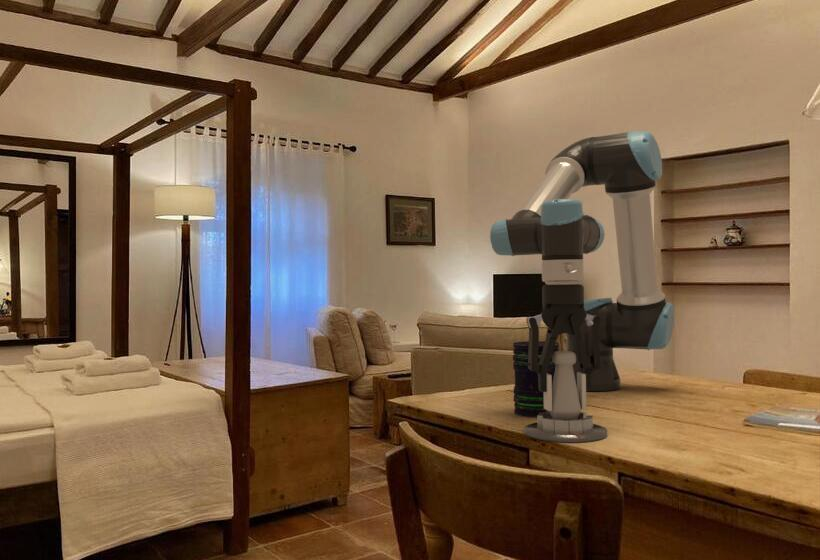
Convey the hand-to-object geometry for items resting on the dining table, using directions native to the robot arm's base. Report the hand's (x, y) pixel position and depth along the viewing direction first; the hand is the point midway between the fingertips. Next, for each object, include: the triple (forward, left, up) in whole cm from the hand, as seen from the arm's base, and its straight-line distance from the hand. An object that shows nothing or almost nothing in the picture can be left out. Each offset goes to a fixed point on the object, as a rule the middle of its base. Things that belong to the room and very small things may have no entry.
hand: (564, 408), depth 128 cm
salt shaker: (0, 0, -3) cm, 3 cm away
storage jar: (-20, +2, -5) cm, 21 cm away
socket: (0, 0, -5) cm, 5 cm away
